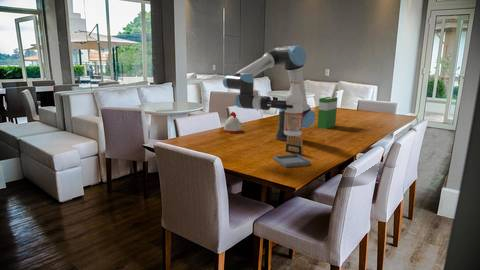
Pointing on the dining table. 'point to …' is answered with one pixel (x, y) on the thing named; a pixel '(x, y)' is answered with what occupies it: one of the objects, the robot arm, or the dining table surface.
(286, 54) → the robot arm
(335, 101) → the green white box
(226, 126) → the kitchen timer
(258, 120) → the dining table surface
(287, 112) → the white milk bottle
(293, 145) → the ammunition clip
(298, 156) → the tray
